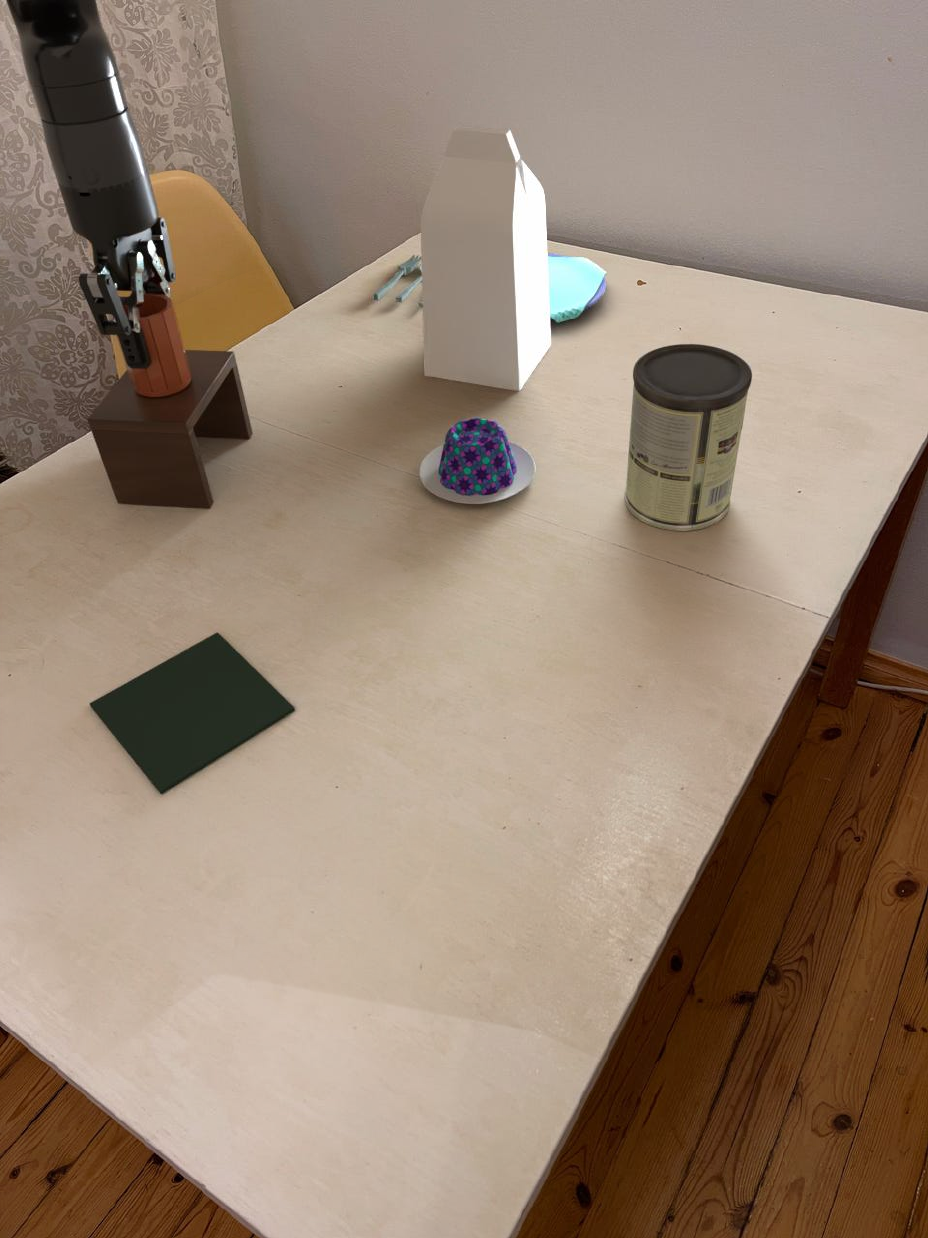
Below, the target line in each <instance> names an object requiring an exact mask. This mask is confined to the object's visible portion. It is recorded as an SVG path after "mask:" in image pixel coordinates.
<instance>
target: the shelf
mask: <svg viewBox="0 0 928 1238" xmlns="http://www.w3.org/2000/svg"><path fill="white" fill-rule="evenodd" d="M185 351H186V355H187V359H188V363H189V367H190V373H191V377H192V379H191V382H190V384H189V385H188V386H187V387H186V388H184V389H183V390H181V391H179V392H177V393H174V394H171V395H168V396H163V397H146V396H142V395H140V394H138V393H137V392H136V391H135V390H134V387H133V385H132V384H131V381H130V377H129V374H128V371H127V369H126V370H125V372H124V373H123V374H122V375H121V376H120V377H119V378H118V380H117V382H116V383H114V385H113V387H111V388H110V390H109V391H108V392H107V393H106V395H105V396H104V397H103V399H102V400H101V401H100V402H99V404H98V405H97V406H96V407H95V409H94V410H93V411H92V412H91V414H90V415H89V416H88V417H87V419H86V421H87V423H88V427H89V429H90V430H91V435H92V437H93V440H94V442H95V445H96V448H97V451H98V453H99V455H100V458H101V461H102V464H103V467H104V469H105V473H106V475H107V478H108V482H109V484H110V487H111V489H112V491H113V495H114V497H115V500H116V503H117V504H119V505H137V506H153V507H154V506H155V507H172V508H186V509H187V508H188V509H202V510H203V509H206V510H210V509H211V508H212V506H213V504H214V499H213V495H212V491H211V487H210V484H209V480H208V477H207V473H206V468H205V466H204V462H203V459H202V455H201V451H200V447H199V444H198V441H197V438H213V439H235V440H236V439H237V440H250V439H251V437H252V436H253V434H254V433H253V429H252V424H251V420H250V415H249V411H248V407H247V402H246V397H245V393H244V390H243V385H242V381H241V375H240V372H239V366H238V363H237V359H236V355H235V351H229V350H203V349H201V350H199V349H185Z"/></svg>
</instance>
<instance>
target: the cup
mask: <svg viewBox="0 0 928 1238" xmlns="http://www.w3.org/2000/svg"><path fill="white" fill-rule="evenodd" d="M143 297H144V303H143V304H142V305H141V306H140V307H139V312H140V325H141V328H140V329H142V330H143V334H144V337H145V341H146V344H147V347H148V351H149V354H150V358H151V361H152V363H151V365H150V366H149V367H148V368H147V369H136V368H130V367H129V366H128V365H127V363H126V360H125V357H124V354H123V351H122V348H121V344H120V341H119V338H118V336H117V335H115V336H116V338H117V342H118V346H119V349H120V352H121V355H122V358H123V361H124V365H125V368H126V370H127V371H128V374H129V377H130V381H131V384H132V385H133V387H134V390H135V391H136V392H137V393H138V394H140V395H142V396H146V397H163V396H168V395H171V394H174V393H177V392H179V391H181V390H183V389H184V388H186V387H187V386H188V385H189V384H190V382H191V379H192V377H191V373H190V367H189V363H188V359H187V355H186V351H185V350H186V347H185V344H184V340H183V336H182V333H181V329H180V326H179V321H178V318H177V314H176V313H177V312H176V310H175V307H174V302H173V300H172V298H171V297H170V296H169V297H167V296H166V295H163V294H156V293H145V294H143ZM122 306H123V308H124V311H125V313H126V316H127V319H129V312H128V307H127V306H126V305H122Z"/></svg>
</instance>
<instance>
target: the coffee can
mask: <svg viewBox="0 0 928 1238" xmlns="http://www.w3.org/2000/svg"><path fill="white" fill-rule="evenodd" d="M632 380H633V385H632V386H633V388H632V403H631V415H630V429H629V441H628V456H627V469H626V472H627V473H626V484H625V491H624V503H625V506H626V507H627V509H628V511H629V512H630V514H632V515H633V516H634V517H636V518H637V519H638V520H639V521H641V523H644V524H647V525H649V526H651V527H655V528H658V529H662V530H665V531H674V532H675V531H676V532H689V531H690V532H691V531H699V530H701V529H706V528H708V527H710V526H713V525H715V524H716V523H718V522H719V521H721V520H722V519H724V517H725V516H726V514H727V513H728V512H729V510H730V506H731V495H732V490H733V482H734V477H735V472H736V471H735V470H736V466H737V460H738V459H737V458H738V453H739V447H740V443H741V442H740V441H741V436H742V435H741V434H742V431H743V426H744V419H745V413H746V412H745V411H746V405H747V400H748V393H749V389H750V387H751V384H752V381H753V371H752V369H751V367H750V365H749V364H748V363H747V362H746V360H745V359H743V358H741V356H738V355H737V354H735V353H733V352H731V351H729V350H726V349H723V348H721V347H717V346H712V345H706V344H698V343H680V344H679V343H678V344H677V343H676V344H671V345H666V346H665V345H664V346H661V347H658V348H655V349H651V350H650V351H648V352H646V353H645V354H643V355H642V356H640V357H639V358H638V359H637V361H636V362H635V363H634V366H633V369H632Z"/></svg>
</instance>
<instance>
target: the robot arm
mask: <svg viewBox="0 0 928 1238" xmlns="http://www.w3.org/2000/svg"><path fill="white" fill-rule="evenodd" d="M5 1H6V4H7V6H8V9H9V12H10V15H11V18H12V21H13V23H14V26H15V29H16V33H17V35H18V39H19V40H18V41H19V45H20V52H21V56H22V61H23V65H24V70H25V74H26V77H27V81H28V84H29V87H30V90H31V93H32V95H33V96H32V97H33V100H34V103H35V106H36V109H37V112H38V115H39V118H40V122H41V126H42V131H43V136H44V142H45V146H46V151H47V153H48V157H49V160H50V163H51V166H52V170H53V172H54V175H55V178H56V182H57V185H58V189H59V191H60V194H61V197H62V200H63V203H64V206H65V210H66V213H67V216H68V219H69V222H70V225H71V228H72V230H73V231H74V232H75V233H76V234H77V235H78V236H80V237H83V238H84V239H86V241H88V242H89V243H90V245H91V249H92V261H93V265H94V267H93V269H92V270H91V272H89V273H87V272H86V273H84V272H82V273H80V274H79V275H78V283H79V286H80V288H81V291H82V293H83V296H84V298H85V300H86V302H87V305H88V307H89V310H90V312H91V315H92V317H93V319H94V321H95V324H96V326H97V329H98V330H99V333H100V334H101V335H102V336H116V335H117V336H118V338H119V341H120V344H121V348H122V351H123V354H124V357H125V360H126V363H127V365H128V366H129V367H130V368H136V369H147V368H148V367H149V366H150V365H151V363H152V361H151V358H150V354H149V351H148V347H147V344H146V341H145V337H144V334H143V330H142V329H140V328H141V325H140V312H139V307H140V306H141V305H142V304H143V303H144V297H143V294H145V293H156V294H163V295H166V296H167V297H169V298H170V296H171V294H172V293H171V292H172V291H171V286H170V283H175V282H176V270H175V269H176V268H175V265H174V260H173V254H172V253H173V252H172V248H171V243H170V238H169V232H168V228H167V222H166V219H165V218H164V217H159V215H160V214H159V213H160V212H159V208H158V205H157V200H156V196H155V193H154V190H153V189H154V188H153V185H152V181H151V178H150V173H149V169H148V166H147V163H146V159H145V154H144V150H143V147H142V142H141V139H140V135H139V132H138V129H137V127H136V124H135V122H134V119H133V116H132V114H131V112H130V108H129V105H128V101H127V97H126V93H125V89H124V85H123V82H122V78H121V74H120V70H119V66H118V63H117V59H116V57H115V54H114V51H113V48H112V46H111V42H110V40H109V37H108V36H107V33H106V30H105V29H104V27H103V24H102V20H101V17H100V12H99V8H98V3H97V0H5ZM118 292H130V295H128V296H119V293H118ZM122 305H126V306H127V307H128V312H129V319H127V316H126V313H125V311H124V308H123V306H122ZM117 336H116V337H117Z"/></svg>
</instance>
